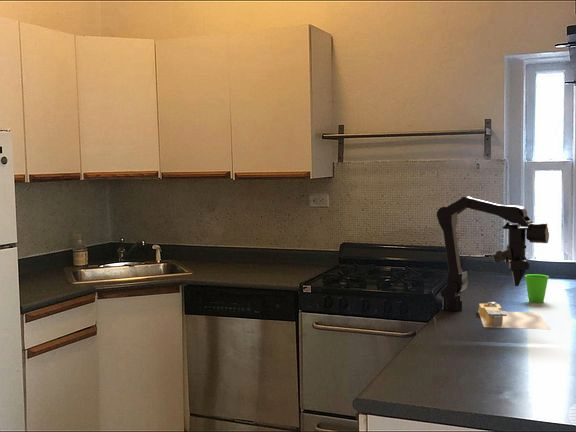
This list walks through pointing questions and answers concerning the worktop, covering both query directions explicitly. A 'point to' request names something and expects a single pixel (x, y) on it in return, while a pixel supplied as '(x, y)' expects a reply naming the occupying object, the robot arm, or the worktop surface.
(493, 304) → the pintle
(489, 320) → the link
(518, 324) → the board
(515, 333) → the worktop surface
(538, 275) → the cup
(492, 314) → the keeper
